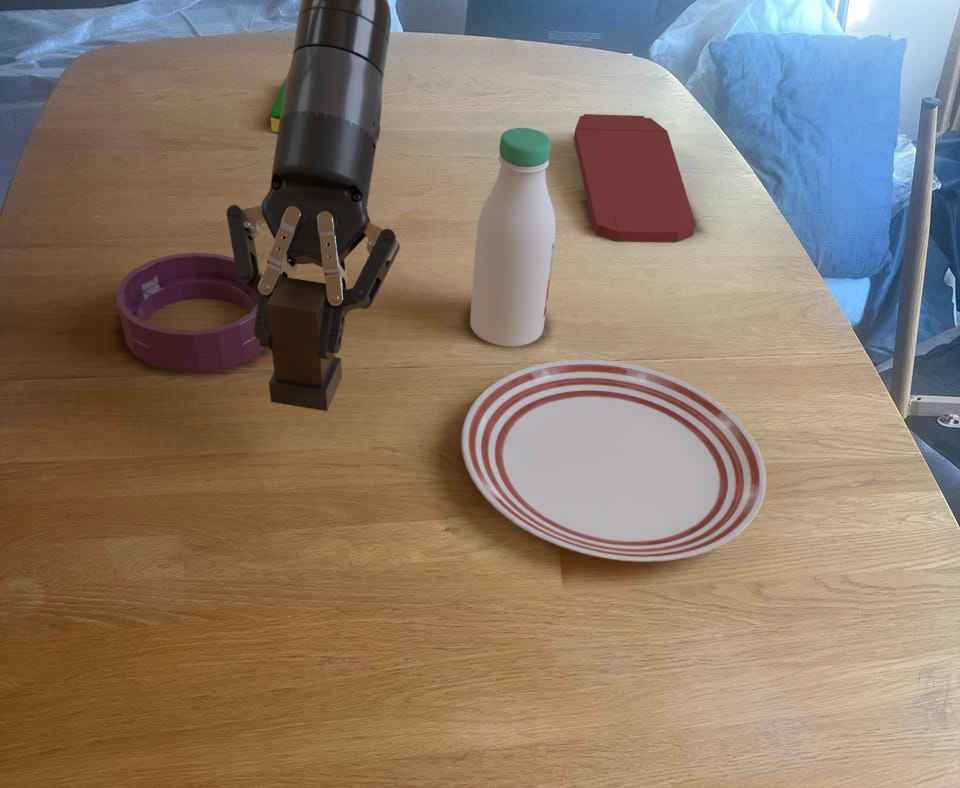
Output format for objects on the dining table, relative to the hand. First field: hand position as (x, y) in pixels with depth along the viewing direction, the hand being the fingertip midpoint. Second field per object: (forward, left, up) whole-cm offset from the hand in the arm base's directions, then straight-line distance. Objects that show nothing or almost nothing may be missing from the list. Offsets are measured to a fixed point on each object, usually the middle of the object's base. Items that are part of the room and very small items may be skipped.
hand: (296, 351), depth 79 cm
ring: (-13, +20, -13) cm, 27 cm away
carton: (+34, +57, -13) cm, 68 cm away
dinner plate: (+27, +2, -13) cm, 30 cm away
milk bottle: (+18, +24, -13) cm, 33 cm away
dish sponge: (-8, +73, -13) cm, 74 cm away
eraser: (0, +2, -5) cm, 5 cm away
